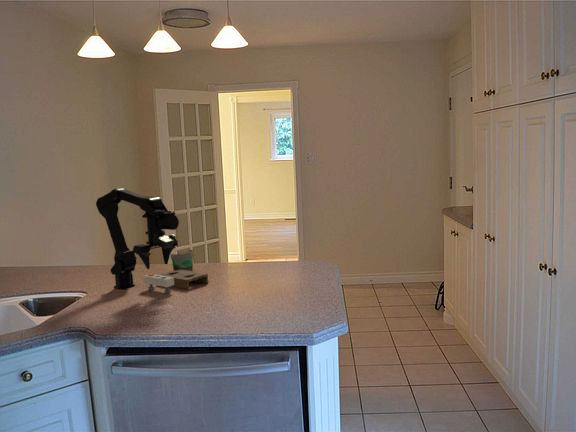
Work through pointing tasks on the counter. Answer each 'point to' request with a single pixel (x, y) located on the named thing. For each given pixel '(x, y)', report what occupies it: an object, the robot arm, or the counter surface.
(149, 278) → the power strip
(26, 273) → the counter surface
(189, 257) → the food container
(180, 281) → the keyhole board
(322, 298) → the counter surface
